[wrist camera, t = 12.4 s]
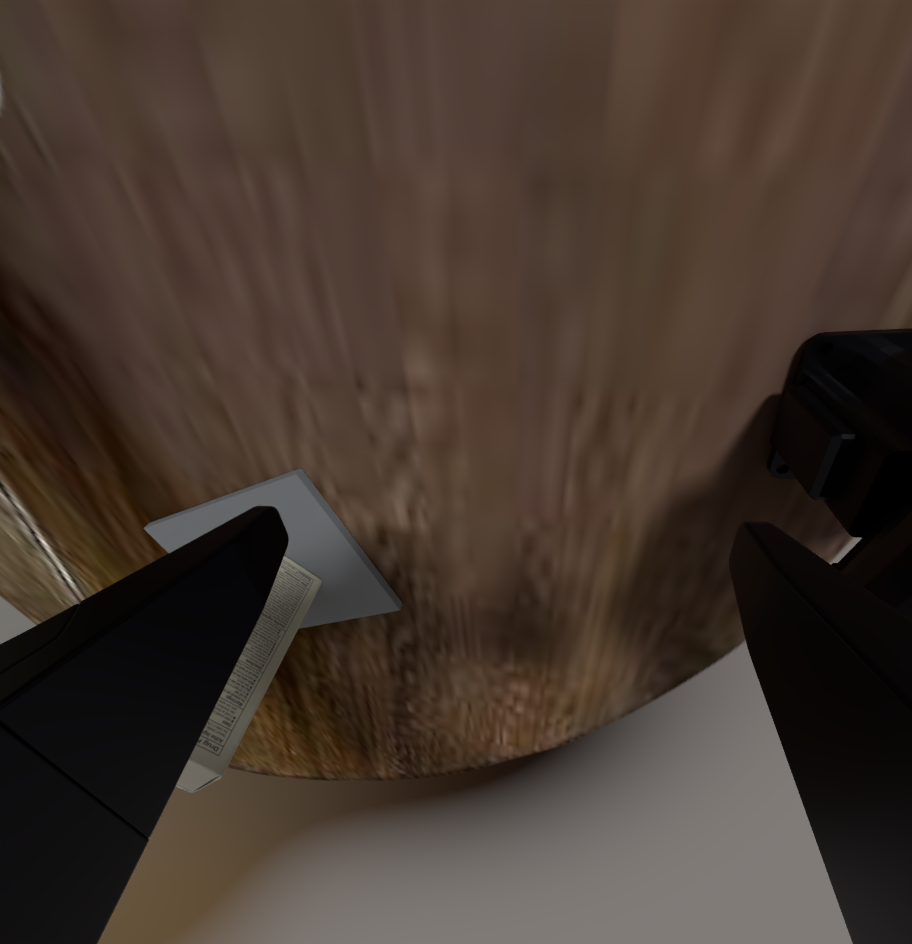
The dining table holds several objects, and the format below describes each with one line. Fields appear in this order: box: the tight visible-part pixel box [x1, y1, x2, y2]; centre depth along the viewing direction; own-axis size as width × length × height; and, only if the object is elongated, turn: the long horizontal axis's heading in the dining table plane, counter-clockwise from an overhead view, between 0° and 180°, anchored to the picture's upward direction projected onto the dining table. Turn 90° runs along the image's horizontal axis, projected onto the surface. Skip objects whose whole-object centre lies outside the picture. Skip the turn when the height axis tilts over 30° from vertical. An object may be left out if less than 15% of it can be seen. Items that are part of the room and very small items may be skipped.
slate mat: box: [144, 468, 403, 629], centre depth 31 cm, size 14×12×1 cm
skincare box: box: [176, 556, 322, 793], centre depth 26 cm, size 6×4×12 cm
